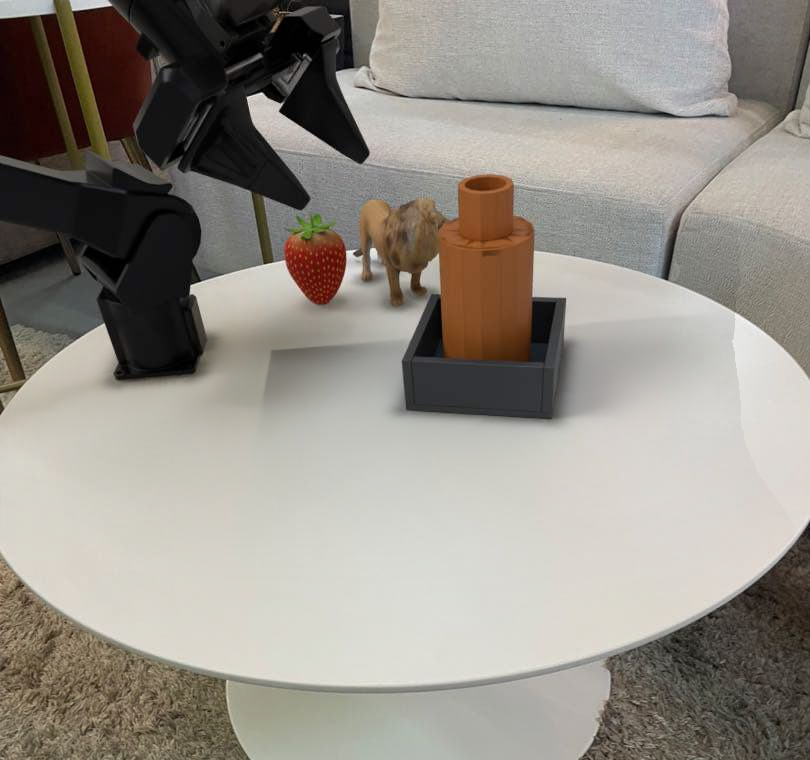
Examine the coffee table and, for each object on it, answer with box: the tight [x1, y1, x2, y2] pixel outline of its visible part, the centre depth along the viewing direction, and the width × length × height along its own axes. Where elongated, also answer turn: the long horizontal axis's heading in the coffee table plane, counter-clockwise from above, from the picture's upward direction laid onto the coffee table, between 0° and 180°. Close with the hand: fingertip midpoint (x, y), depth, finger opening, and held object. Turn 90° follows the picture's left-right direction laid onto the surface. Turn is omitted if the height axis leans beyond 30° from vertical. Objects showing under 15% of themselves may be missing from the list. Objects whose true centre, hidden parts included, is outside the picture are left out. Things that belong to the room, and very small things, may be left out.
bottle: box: [438, 173, 536, 362], centre depth 56 cm, size 6×6×14 cm
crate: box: [401, 293, 567, 420], centre depth 59 cm, size 10×10×4 cm
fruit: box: [283, 211, 348, 306], centre depth 69 cm, size 5×5×8 cm
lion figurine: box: [352, 197, 451, 307], centre depth 71 cm, size 15×5×9 cm, turn 33°
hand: (337, 180), depth 55 cm, fingers open, 9 cm apart
